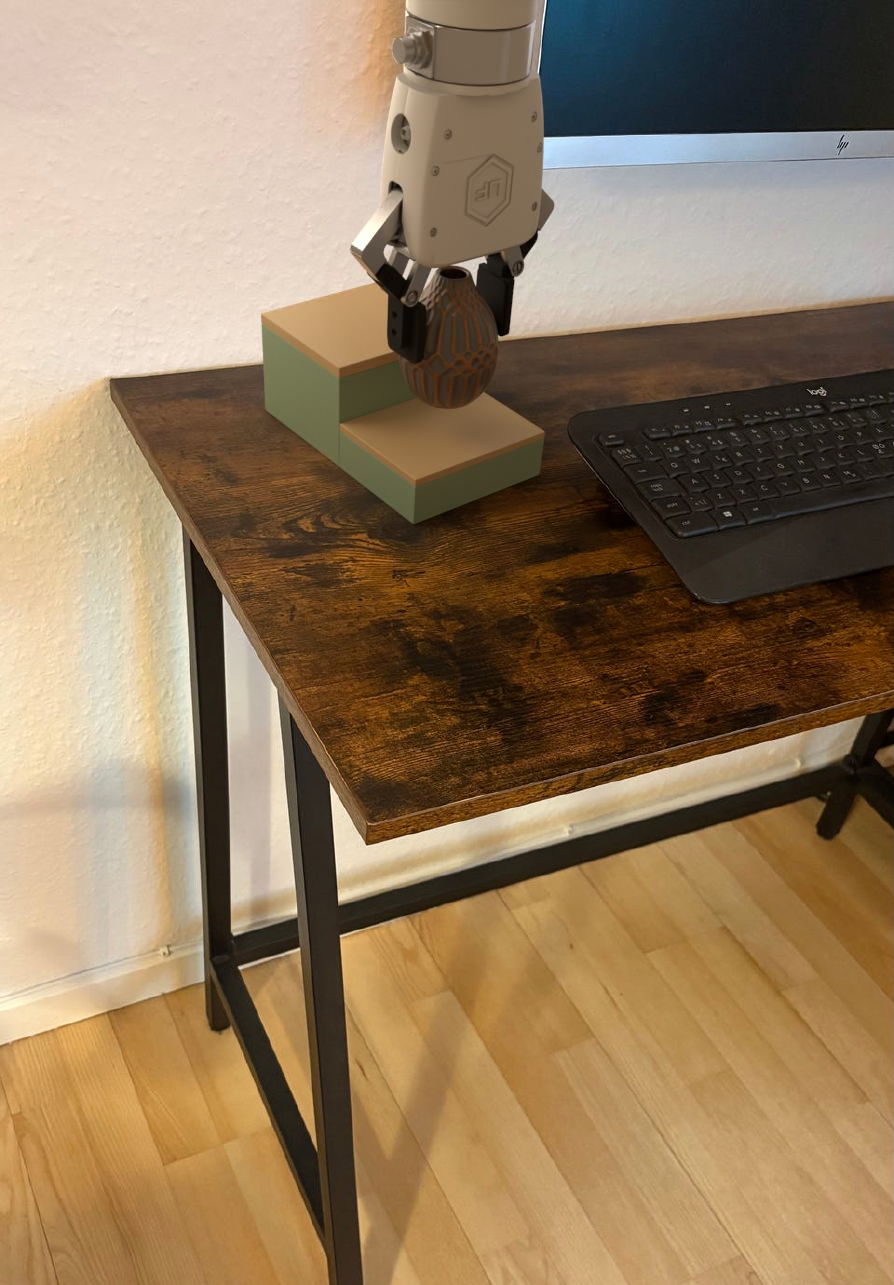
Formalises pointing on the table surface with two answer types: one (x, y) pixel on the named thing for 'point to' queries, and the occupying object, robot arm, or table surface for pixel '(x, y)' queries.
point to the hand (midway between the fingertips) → (449, 339)
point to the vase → (453, 342)
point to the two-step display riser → (386, 410)
